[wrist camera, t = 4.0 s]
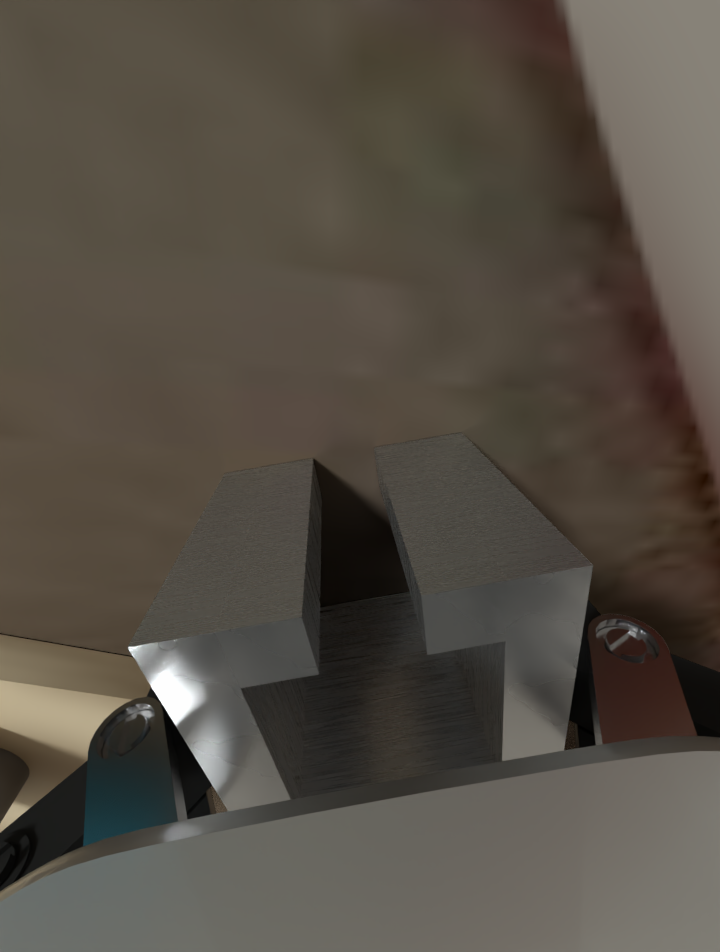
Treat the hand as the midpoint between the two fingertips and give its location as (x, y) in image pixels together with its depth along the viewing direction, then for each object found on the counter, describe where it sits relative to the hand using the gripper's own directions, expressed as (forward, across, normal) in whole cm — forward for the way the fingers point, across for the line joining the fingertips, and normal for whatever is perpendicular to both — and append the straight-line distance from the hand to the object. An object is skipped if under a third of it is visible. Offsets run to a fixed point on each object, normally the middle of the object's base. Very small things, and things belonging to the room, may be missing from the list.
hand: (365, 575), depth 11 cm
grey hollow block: (+1, 0, 0) cm, 1 cm away
